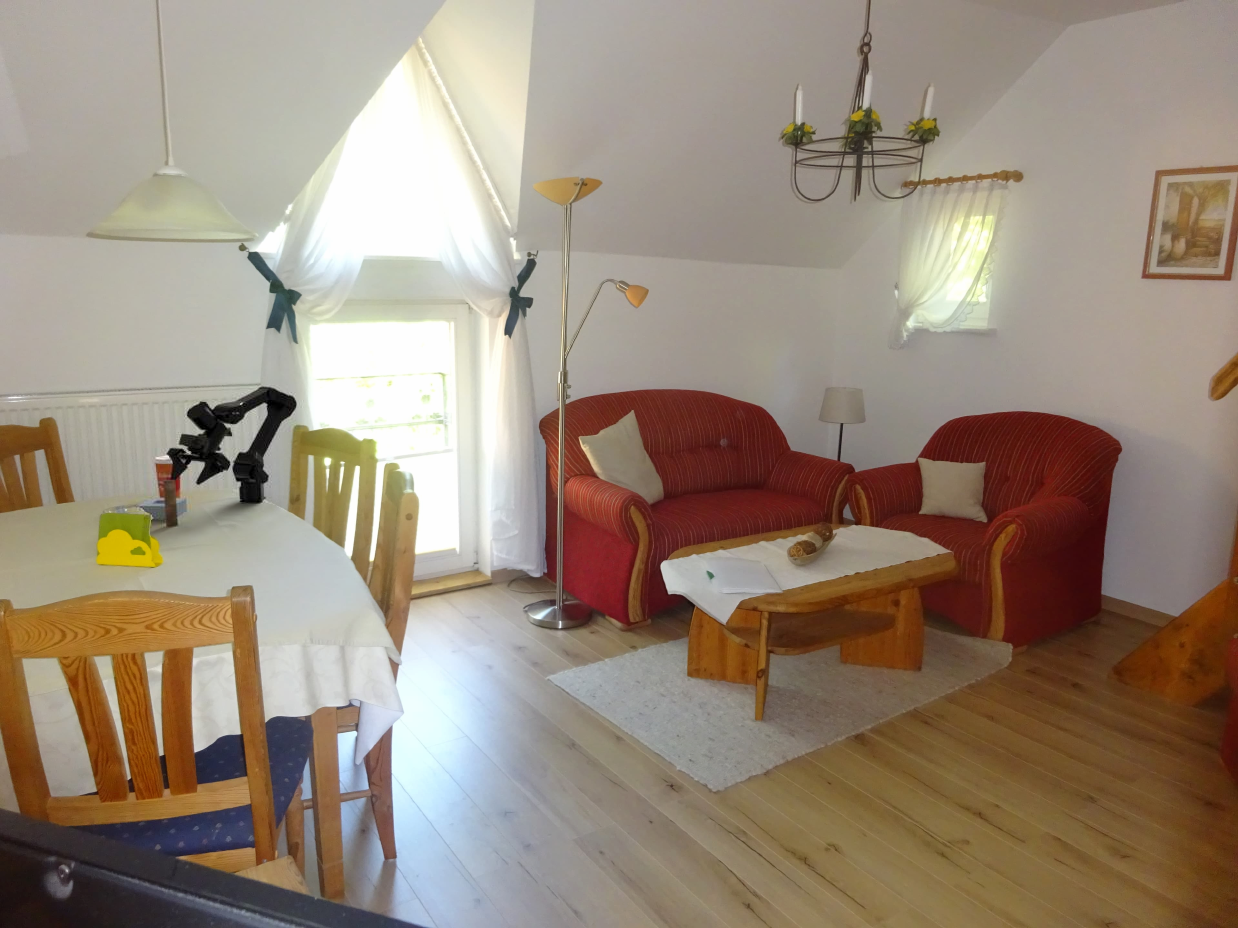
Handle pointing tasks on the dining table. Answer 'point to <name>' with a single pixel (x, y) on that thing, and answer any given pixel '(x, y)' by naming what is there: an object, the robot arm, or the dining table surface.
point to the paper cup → (165, 474)
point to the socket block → (162, 507)
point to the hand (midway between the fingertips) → (184, 482)
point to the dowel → (170, 503)
